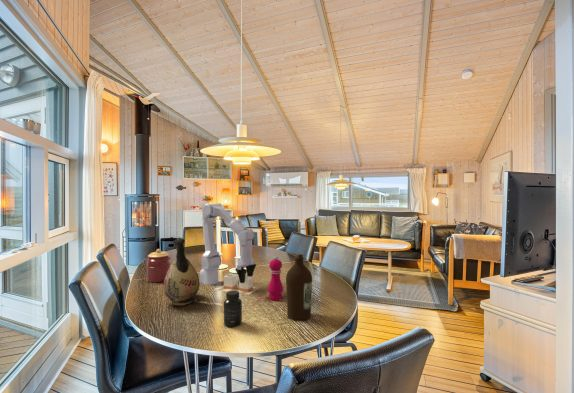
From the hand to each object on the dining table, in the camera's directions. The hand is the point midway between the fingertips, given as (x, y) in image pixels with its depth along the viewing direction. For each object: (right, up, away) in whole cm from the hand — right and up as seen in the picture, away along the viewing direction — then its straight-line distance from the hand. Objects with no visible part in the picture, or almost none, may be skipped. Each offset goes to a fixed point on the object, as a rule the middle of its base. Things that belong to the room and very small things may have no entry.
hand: (246, 280), depth 147 cm
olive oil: (+25, -7, -28) cm, 39 cm away
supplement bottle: (0, -7, -35) cm, 36 cm away
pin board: (-5, -6, +2) cm, 8 cm away
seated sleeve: (-8, -4, +3) cm, 10 cm away
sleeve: (0, -5, 0) cm, 5 cm away
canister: (-53, -6, +22) cm, 58 cm away
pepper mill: (+15, -6, -8) cm, 18 cm away
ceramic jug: (-27, -6, -14) cm, 31 cm away
